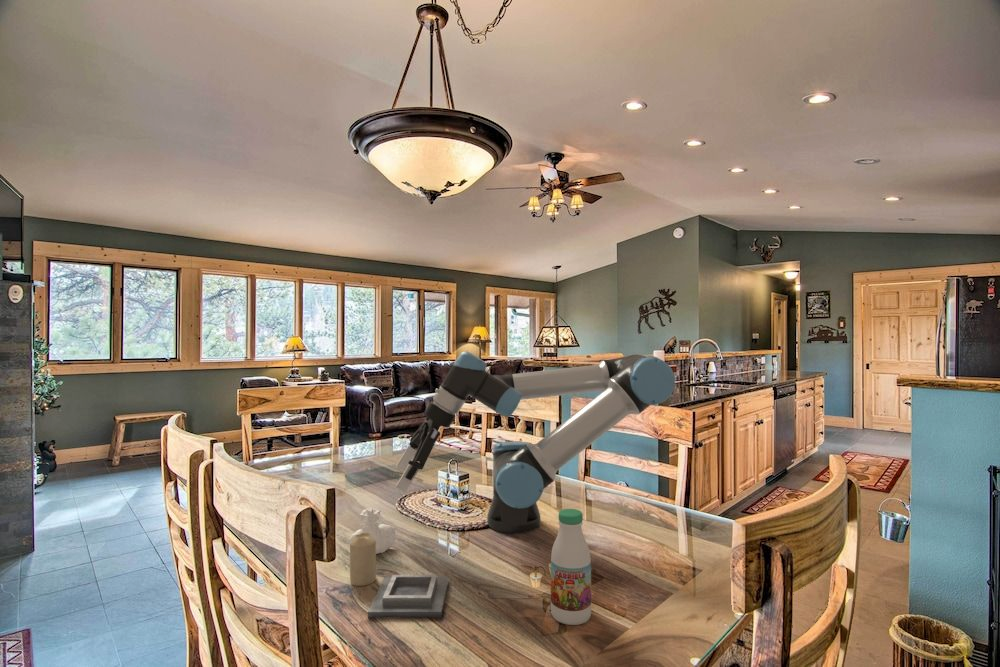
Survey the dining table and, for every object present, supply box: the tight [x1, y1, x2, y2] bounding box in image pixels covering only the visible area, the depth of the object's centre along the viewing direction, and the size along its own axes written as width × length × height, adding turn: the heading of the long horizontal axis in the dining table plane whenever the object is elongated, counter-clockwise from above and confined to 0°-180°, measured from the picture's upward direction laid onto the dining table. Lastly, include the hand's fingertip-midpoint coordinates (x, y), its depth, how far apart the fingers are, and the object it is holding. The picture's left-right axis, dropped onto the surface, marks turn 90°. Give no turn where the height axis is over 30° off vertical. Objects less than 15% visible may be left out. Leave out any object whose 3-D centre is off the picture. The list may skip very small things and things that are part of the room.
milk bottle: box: [550, 508, 592, 626], centre depth 100 cm, size 8×8×20 cm
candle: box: [349, 533, 377, 587], centre depth 114 cm, size 6×6×10 cm
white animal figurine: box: [348, 507, 396, 555], centre depth 129 cm, size 12×8×11 cm
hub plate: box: [367, 574, 450, 619], centre depth 106 cm, size 14×14×3 cm
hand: (400, 478), depth 132 cm, fingers open, 13 cm apart
